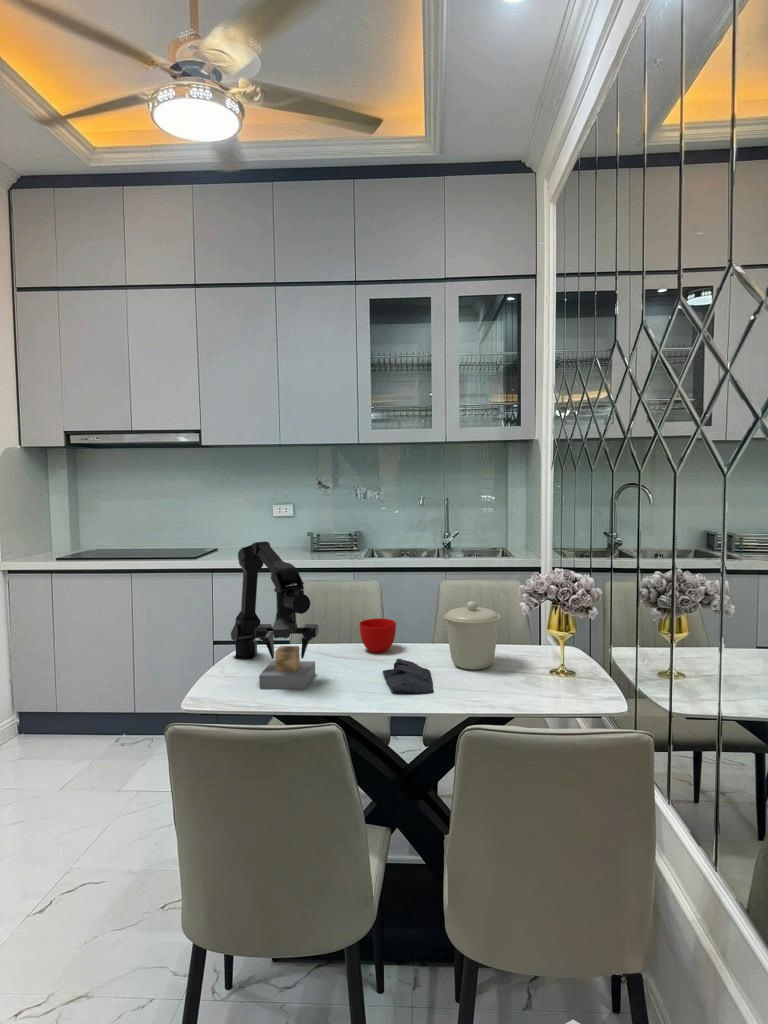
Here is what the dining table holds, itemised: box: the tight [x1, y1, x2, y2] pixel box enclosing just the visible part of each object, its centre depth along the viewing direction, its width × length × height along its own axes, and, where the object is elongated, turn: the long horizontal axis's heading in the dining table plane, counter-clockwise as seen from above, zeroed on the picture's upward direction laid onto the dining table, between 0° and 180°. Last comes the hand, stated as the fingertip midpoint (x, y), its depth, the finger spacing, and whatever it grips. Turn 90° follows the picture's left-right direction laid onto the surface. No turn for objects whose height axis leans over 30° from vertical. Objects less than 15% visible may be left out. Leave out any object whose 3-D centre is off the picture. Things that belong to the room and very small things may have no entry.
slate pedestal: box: [258, 660, 316, 690], centre depth 192 cm, size 14×14×4 cm
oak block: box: [274, 645, 301, 671], centre depth 191 cm, size 6×6×6 cm
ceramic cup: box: [359, 618, 397, 654], centre depth 224 cm, size 13×17×10 cm
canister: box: [443, 600, 501, 671], centre depth 203 cm, size 18×18×21 cm
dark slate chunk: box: [382, 658, 435, 695], centre depth 189 cm, size 15×22×5 cm
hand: (287, 658), depth 191 cm, fingers open, 9 cm apart
